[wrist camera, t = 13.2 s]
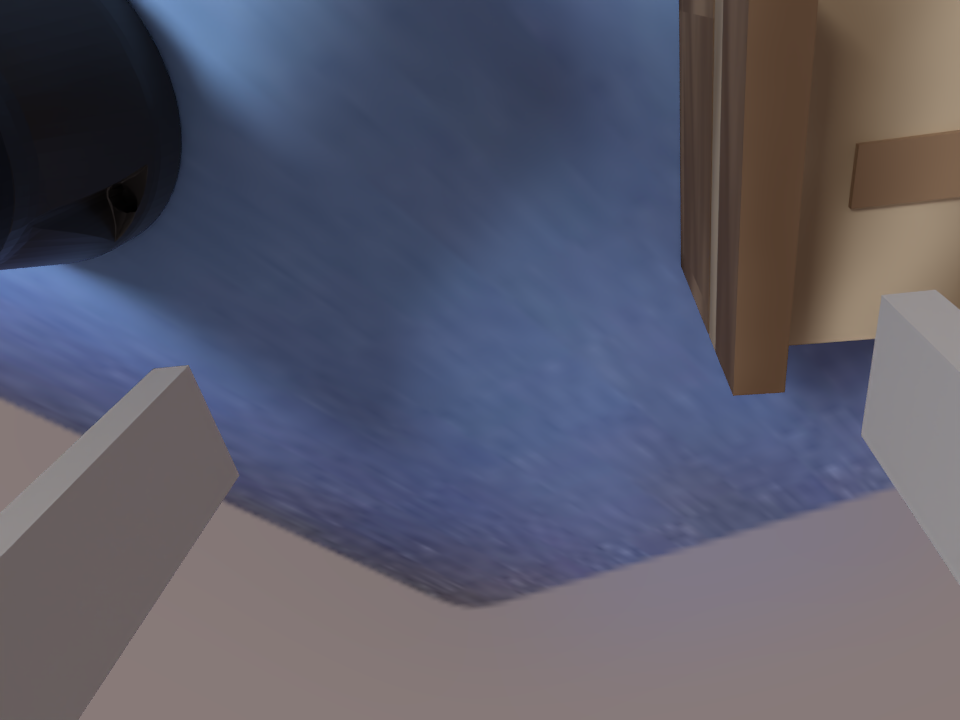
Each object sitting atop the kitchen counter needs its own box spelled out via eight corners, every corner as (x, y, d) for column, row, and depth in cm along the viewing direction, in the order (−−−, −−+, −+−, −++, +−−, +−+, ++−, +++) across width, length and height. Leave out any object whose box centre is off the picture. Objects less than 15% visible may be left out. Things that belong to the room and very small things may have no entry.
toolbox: (680, 266, 31) (708, 333, 25) (678, -18, 25) (713, -19, 19) (1111, 222, 28) (1262, 287, 22) (1223, -116, 22) (1471, -154, 16)
